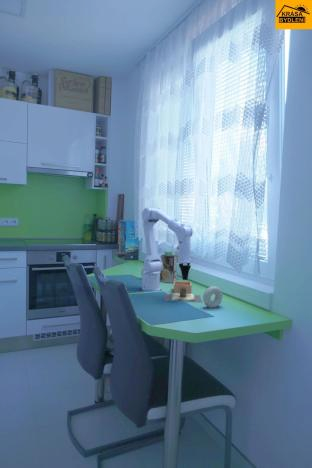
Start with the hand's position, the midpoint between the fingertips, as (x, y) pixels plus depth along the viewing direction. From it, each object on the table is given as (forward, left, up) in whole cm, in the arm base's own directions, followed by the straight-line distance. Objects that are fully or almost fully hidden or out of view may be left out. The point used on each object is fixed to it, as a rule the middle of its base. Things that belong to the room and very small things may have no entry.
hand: (184, 278), depth 166 cm
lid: (-1, -1, -9) cm, 9 cm away
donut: (+12, -14, -10) cm, 21 cm away
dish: (-1, +12, -10) cm, 16 cm away
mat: (-1, -1, -10) cm, 10 cm away
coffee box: (-9, +38, -10) cm, 41 cm away
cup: (-21, +42, -10) cm, 48 cm away
